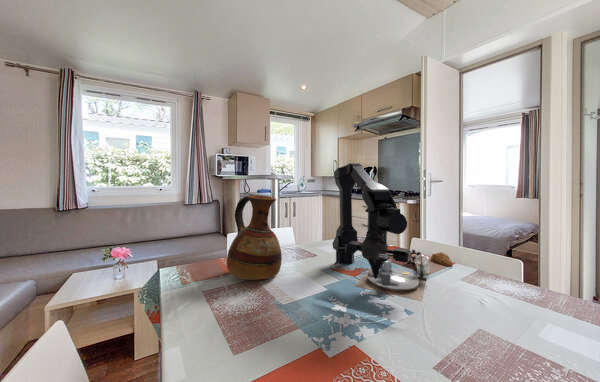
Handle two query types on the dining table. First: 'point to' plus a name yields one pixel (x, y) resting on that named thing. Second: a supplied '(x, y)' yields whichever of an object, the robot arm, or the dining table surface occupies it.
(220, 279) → the dining table surface
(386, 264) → the cover
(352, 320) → the dining table surface
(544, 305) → the dining table surface
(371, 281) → the turntable
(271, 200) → the ceramic pitcher
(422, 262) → the dial gauge
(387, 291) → the base board
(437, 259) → the croissant
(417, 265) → the valve
